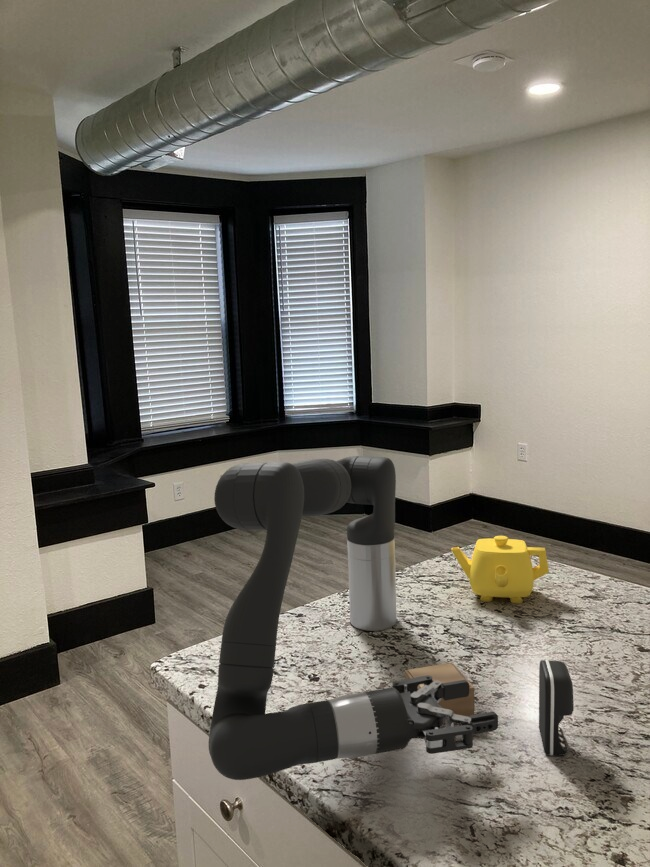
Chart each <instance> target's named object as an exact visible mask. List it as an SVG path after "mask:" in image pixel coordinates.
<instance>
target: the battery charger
mask: <svg viewBox="0 0 650 867" xmlns="http://www.w3.org/2000/svg"><path fill="white" fill-rule="evenodd" d="M538 669H539V671H538V672H539V673H538V674H539V675H538V676H539V678H538V679H539V680H538V682H539V683H538V695H539V696H538V698H539V699H538V729H539V734H540V739H541V744H542V748H543V752H544V754H545V755H546V756H547V755H548V756H550V757H553V756H565V755H567V753H568V745H567V740H566V738H565V734H564V731H563V729H562V727H560V726H559V725H560V723H561V722H562V721H563V720H564V718H565V717H566V716H572V715H573V713H574V709H575V708H574V707H575V706H574V686H573V685H574V684H573V681H572V678H571V675H570V673H569V672H570V671H569V669H568V666H567V665H566V663H565V662H563V661H561V660H560V661H559V660H549V659H544V660H542V659H541V660H540V661H539V668H538Z"/></svg>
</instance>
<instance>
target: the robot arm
mask: <svg viewBox="0 0 650 867" xmlns="http://www.w3.org/2000/svg"><path fill="white" fill-rule="evenodd" d="M396 476H397V475H396V468H395V464H394V462H393V460H391V459H390V458H388V457H383V456H366V455H365V456H364V455H362V456H361V455H351V456H346V457H342V458H341V459H338V460H334V459H329V458H315V459H314V458H313V459H308V460H300V461H295V462H291V463H290V462H288V461H287V462H285V461H278V462H277V461H273V462H253V463H249V462H247V463H245V462H244V463H239V464H236V465H233V466H231V467H230V468H228V469H227V470H225V472H224V473H223V474H222V475H221V476H220V478H219V480H218V481H217V484H216V486H215V491H214V505H215V509H216V512H217V514H218V515H219V517H220V519H221V520H222V521H223V522H224V523H225V524H227V525H228V526H230V527H232V528H233V529H238V530H243V531H266V534H265V541H264V545H263V548H262V549H263V550H262V553H261V555H260V558H259V561H258V562H257V564H256V566H255V568H254V569H253V572H252V573H251V575H250V577H249V579H248V580H247V581H246V583H245V585H244V586H243V588H241V591H240V592H239V593H238V595H237V596H236V598H235V600H234V601H233V603H232V605H231V607H230V608H229V611H228V612H227V616H226V618H225V621H224V624H223V630H222V633H221V634H222V635H221V643H220V650H219V662H218V672H217V673H218V674H217V689H216V694H215V699H214V704H213V710H212V716H211V720H210V729H209V733H208V734H209V735H208V751H209V756H210V758H211V759H210V760H211V762H212V764H213V766H214V768H215V769H216V771H218V773H219V774H220V775H222V776H223V777H225V778H227V779H229V780H232V781H233V780H235V781H246V780H253V779H257V778H261V777H264V776H268V775H272V774H274V773H278V772H281V771H284V770H287V769H290V768H293V767H295V766H299V765H306V764H307V765H309V764H315V763H321V762H326V761H327V762H328V761H332V760H333V761H334V760H338V759H354V758H362V757H366V756H371V755H377V754H378V755H379V754H383V753H384V754H385V753H387V752H393V751H399V750H404V749H405V748H406V747H407V746H408V744H409V742H410V741H411V740H412V739H422V740H424V742H425V751H426V753H427V754H440V753H446V752H453V751H461V750H468V749H472V748H473V745H474V736H475V735H480V734H485V733H489V732H494V731H496V730H497V729H498V728H499V716H498V715H497V713H496V711H488V712H482V713H476V714H475V713H474V715H470V716H469V717H467V716H462V715H457V714H454V712H453V711H452V710H449V709H444V708H442V707H441V706H440V705H439V704H438V703H439V702H440V701H441V700H442V697H443V699H444V700H451V699H457V698H463V697H467V696H468V695H469V683H468V682H467V681H466V680H460V681H453V682H447V683H441V682H440V681H433V680H432V676H429V675H426V676H421V677H416V678H411V679H406V680H405V679H402V680H396V681H393V682H392V687H386V688H381V689H375V690H369V691H361V692H354V693H348V694H344V695H341V696H336V697H335V698H330V699H327V700H319V701H313V702H307V703H302V704H298V705H297V704H296V705H293V706H291V707H290V708H288V709H287V710H283V711H277V712H276V711H275V712H269V713H266V709H267V708H266V707H267V700H268V699H267V697H268V692H269V690H270V688H271V686H272V682H273V677H274V671H275V660H276V652H277V651H276V649H277V638H278V631H279V630H278V629H279V620H280V614H281V608H282V603H283V599H284V595H285V591H286V586H287V583H288V579H289V574H290V571H291V566H292V562H293V559H294V553H295V548H296V544H297V541H298V540H297V539H298V535H299V532H300V529H301V528H300V527H301V523H302V518H304V517H305V518H307V517H320V516H323V515H328V514H332V513H334V512H336V511H338V510H340V509H342V508H343V506H345V504H346V503H349V504H357V505H366V506H367V505H370V506H373V509H372V510H373V511H372V513H371V514H369V515H366V516H363V517H358V518H357V519H354V520H352V521H350V522H349V523H348V524H347V527H346V543H347V544H346V546H347V564H348V565H347V566H348V570H347V571H348V593H349V596H348V597H349V599H348V600H349V621H350V624H351V625H352V626H353V627H354V628H355V629H356V628H357V629H359V630H363V631H371V632H374V631H384V630H387V629H390V628H392V627H393V626H395V625H396V623H397V622H398V618H397V617H398V616H397V586H396V585H397V584H396V582H397V581H396V550H395V549H396V548H395V547H396V546H395V542H396V541H395V526H396V490H397V488H396V487H397V483H396V482H397V480H396V478H397V477H396ZM420 684H424V686H423V687H422V688H420V689H419V690H418V689H417V687H418V685H420ZM444 719H445V721H446V724H444ZM454 724H460V725H457V726H456V725H454ZM444 725H445V727H443V726H444ZM456 738H458V739H460V740H456Z"/></svg>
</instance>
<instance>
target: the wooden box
mask: <svg viewBox="0 0 650 867" xmlns="http://www.w3.org/2000/svg"><path fill="white" fill-rule="evenodd" d="M426 675H429V676H432V680H433V681H440V682H441V683H447V682H453V681H460V680H466V681H467V682H468V683H469V695H468V696H467V697H463V698H457V699H451V700H444V699H443V697H442V700H441V701H440V702H439V703H438V704H439V705H440V706H441V707H442V708H444V709H449V710H452V711H453V712H454V714H457V715H462V716H467V717H469V716H470V715H475V686H474V685H473V684H472V683H471V682H470V681H469V680H468V679H467V677H466V676H465V675H464V674H463V673H462V672H461V671H460V670H459V669H458V667H457V666H456V665H455V664H454V663H453V662H446V663H440V664H433V665H429V666H427V665H426V666H422V667H416V668H415V667H414V668H410V669H404V680H406V679H411V678H416V677H421V676H426ZM423 686H424V684H420V685H418V687H417V689H418V690H419V689H420V688H422V687H423ZM443 725H446V721H445V719H444V724H443Z"/></svg>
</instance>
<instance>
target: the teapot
mask: <svg viewBox="0 0 650 867" xmlns="http://www.w3.org/2000/svg"><path fill="white" fill-rule="evenodd" d="M475 542H476V543H475V545H474V548H473V552H472V555H471V559H470V558H469V557H468V556H467V555H466V553H464V551H462V549H461V548H460V547H459V546H455V547H451V552H452V554H453V555H454V557H455V559H456V560H457V563H458V564H459V565H460V567H461V570H463V573H464V574H465V575H466V577H467V579H469V580H468V581H469V585H470V588H471V590H472V592H473V593H474V594H475V595H479V596H480V598H479V600H480V601H481V602H487V603H488V602H492V601H493V598H494V597H495V598H509V600H510V602H511V603H513V604H522V603H523V602H524V601H523V598H526V597H530V595H531V593H532V592H533V590H534V589H533V588H534V583H535V581H536V580H537V579H539V578H541V577H543V576H545V575H547V574H549V573H550V571H549V563H548V557H547V552H546V547H538V546H537V547H532V546H527V544H526V541H524V540H522V539H513V538H509V537H508V536H505V535H496V536H494V537H493V538H479V539H477V540H476V541H475ZM531 556H538V561H539V562H538V563H539V564H538V565H536V566H534V567H533V562H532V559H531Z"/></svg>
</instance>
